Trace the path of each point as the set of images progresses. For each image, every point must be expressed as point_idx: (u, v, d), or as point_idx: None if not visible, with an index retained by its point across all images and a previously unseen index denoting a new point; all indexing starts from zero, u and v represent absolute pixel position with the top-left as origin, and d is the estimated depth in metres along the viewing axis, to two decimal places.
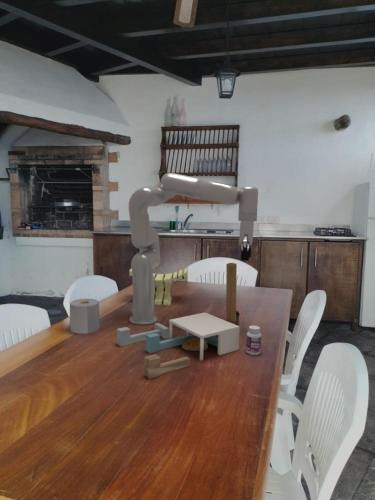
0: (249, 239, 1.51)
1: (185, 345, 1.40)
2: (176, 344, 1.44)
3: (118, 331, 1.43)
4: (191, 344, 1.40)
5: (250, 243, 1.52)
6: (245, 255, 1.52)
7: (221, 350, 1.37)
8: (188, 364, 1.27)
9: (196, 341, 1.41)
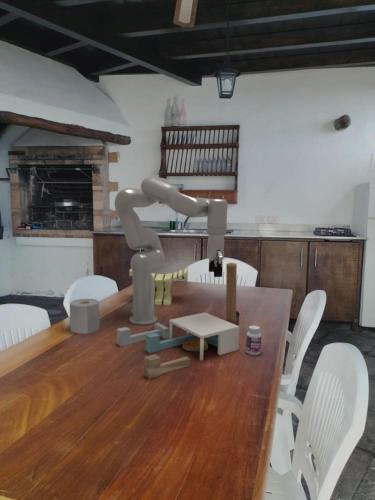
0: (222, 254, 1.44)
1: (185, 345, 1.40)
2: (176, 344, 1.44)
3: (118, 331, 1.43)
4: (192, 345, 1.40)
5: None
6: (219, 271, 1.44)
7: (221, 350, 1.37)
8: (188, 364, 1.27)
9: (196, 341, 1.41)
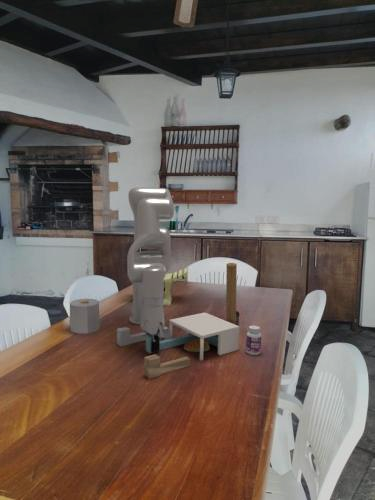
0: None
1: (187, 346, 1.39)
2: (176, 344, 1.44)
3: (118, 331, 1.43)
4: (193, 346, 1.39)
5: None
6: (157, 346, 1.37)
7: (221, 350, 1.37)
8: (188, 364, 1.27)
9: (198, 342, 1.40)
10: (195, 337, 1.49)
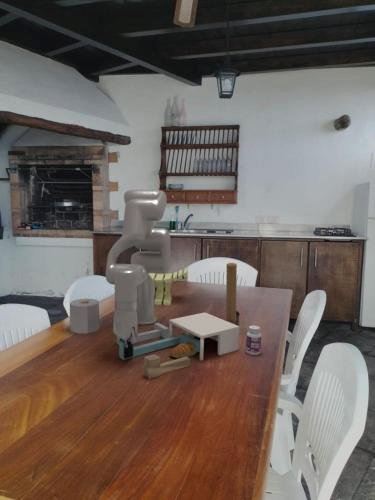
0: (135, 335, 1.29)
1: (175, 353, 1.33)
2: (152, 349, 1.38)
3: None
4: (181, 351, 1.33)
5: None
6: (130, 351, 1.30)
7: (221, 350, 1.37)
8: (188, 364, 1.27)
9: (185, 347, 1.35)
10: (172, 342, 1.43)
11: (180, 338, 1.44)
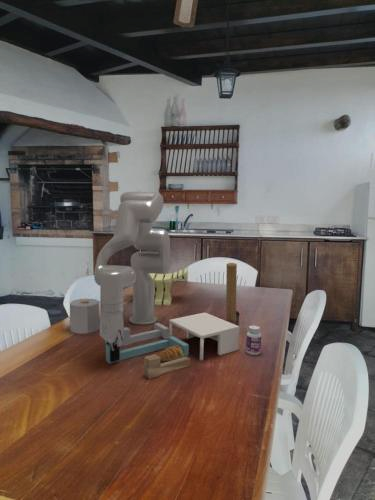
0: (122, 338, 1.26)
1: (162, 356, 1.30)
2: (140, 353, 1.35)
3: None
4: (168, 355, 1.31)
5: (123, 338, 1.26)
6: (116, 355, 1.27)
7: (221, 350, 1.37)
8: (188, 364, 1.27)
9: (172, 350, 1.32)
10: (161, 345, 1.40)
11: (169, 341, 1.41)
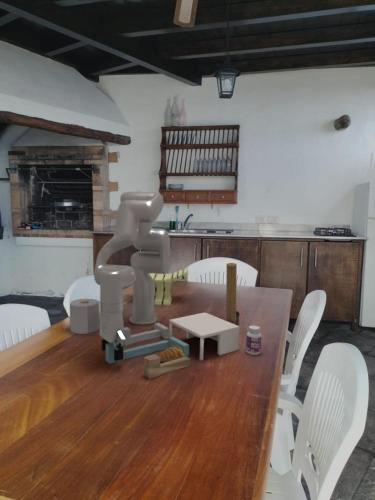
0: (122, 334, 1.25)
1: (162, 357, 1.29)
2: (140, 353, 1.35)
3: None
4: (169, 355, 1.30)
5: None
6: (120, 354, 1.25)
7: (221, 350, 1.37)
8: (188, 364, 1.27)
9: (173, 351, 1.32)
10: (161, 346, 1.40)
11: (170, 342, 1.41)
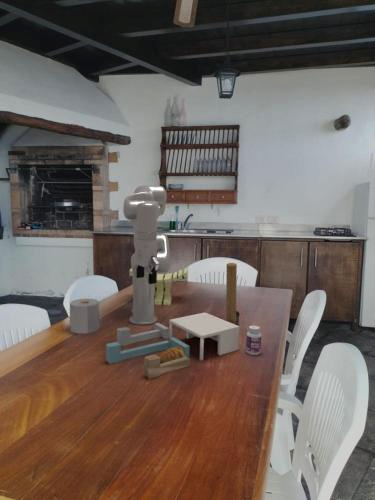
0: None
1: (163, 358, 1.29)
2: (140, 354, 1.35)
3: (118, 331, 1.43)
4: (169, 356, 1.29)
5: None
6: (154, 278, 1.39)
7: (221, 350, 1.37)
8: (188, 364, 1.27)
9: (173, 351, 1.31)
10: (162, 346, 1.40)
11: (170, 342, 1.40)
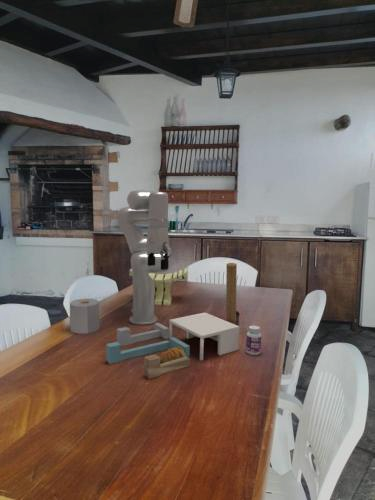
0: None
1: (164, 358, 1.29)
2: (140, 354, 1.35)
3: (118, 331, 1.43)
4: (170, 356, 1.29)
5: None
6: (166, 264, 1.45)
7: (221, 350, 1.37)
8: (188, 364, 1.27)
9: (174, 352, 1.31)
10: (162, 346, 1.40)
11: (170, 342, 1.41)
